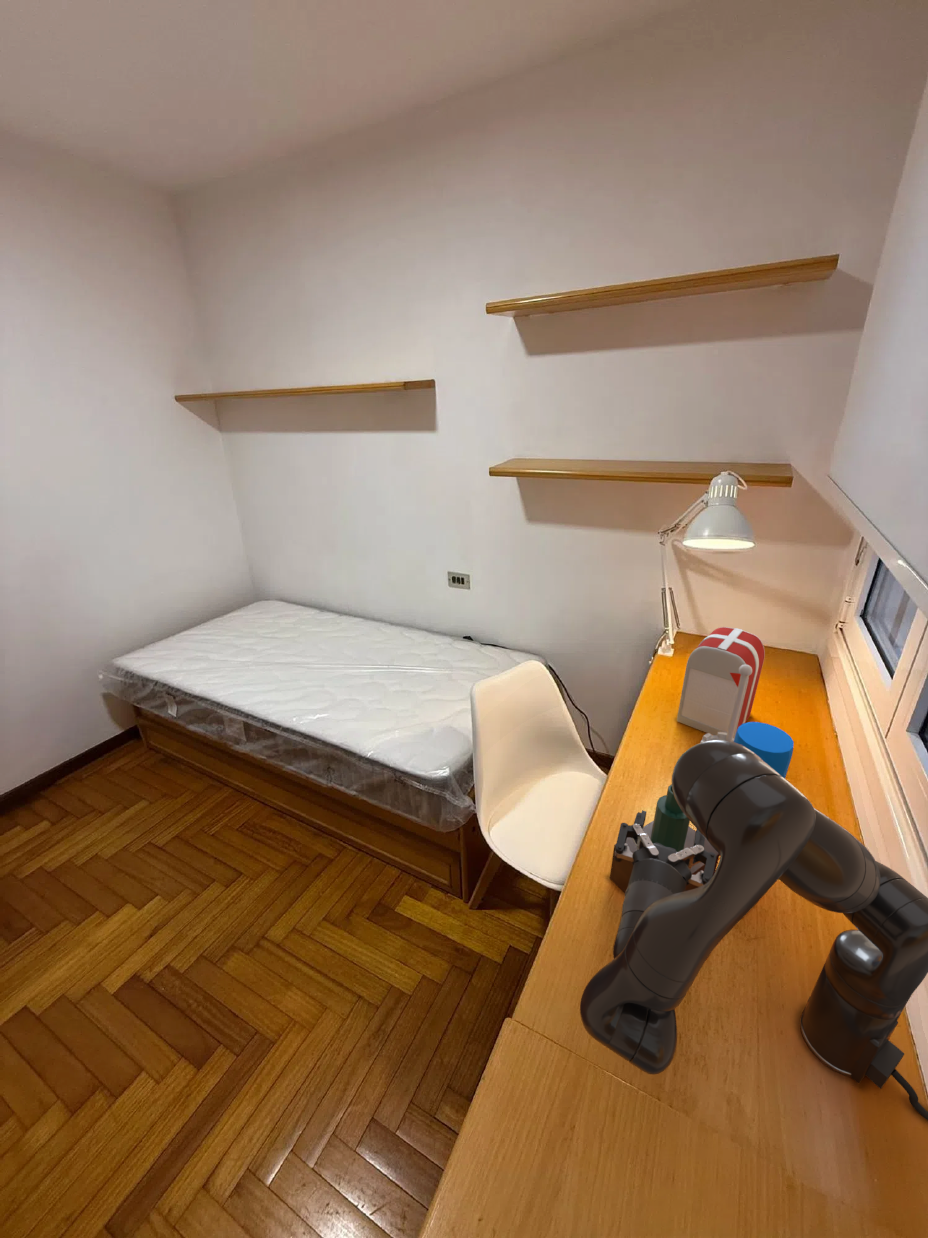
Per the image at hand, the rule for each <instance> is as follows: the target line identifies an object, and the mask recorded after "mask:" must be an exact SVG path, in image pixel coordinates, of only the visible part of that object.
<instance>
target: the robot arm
mask: <svg viewBox="0 0 928 1238" xmlns="http://www.w3.org/2000/svg"><path fill="white" fill-rule="evenodd" d="M671 784H672V790H673V794H674V797H675V799H676V802H677V804H678V805H679V807H680V809H681V810H682V812H683V813H684V814H685V816H686V817H687V818H688V819H689V820H690V823H691V824H692V826H694V828H695V829H696V830H695V831H696V834H695V840H694V846H693V847H692V848H690V849H689V848H685V849H683V850H681V851H679V852H677V851H676V849H674V848H671V847H665V846H663V845H661V844H659V843H656V842H655V843H652V842H651V840H650V838H649V837H648V835H647V834H645V833H644V831H643V827H644V826H645V823H646V817H647V811H646V810H644V809H643V810H641V812H639V811H638V812H637V813H636V815H635V818H634V821H633V824H631V825H629V824H628V823H626V822H621V823H620V825H619V831H618V835H617V839H616V842H615V844H616V848H615V856H614V859H615V860H616V861H617V862H621V861H622V859H625V860H628V861H631V862H632V864H633V869H632V872H631V876H630V880H629V883H628V887H627V889H626V892H625V893H624V898H623V902H622V907H621V916H620V922H619V924H618V928H617V930H616V931H617V932H616V935H615V939H614V943H613V947H612V957H613V959H611V961H609V962H608V963H606V965H604V966H603V967H602V968H600V969H599V970H598V971H597V972H596V973H595V974H593V976H592V977H591V978H590V979H589V981H588V982H587V984H586V985H585V987H584V990H583V992H582V994H581V997H580V1002H579V1015H580V1019H581V1023H582V1025H583V1028H584V1029H585V1031H586V1033H587V1034H588V1035H589V1036H590V1037H591V1038H592V1039H594V1040H595V1041H597V1042H598V1043H599V1044H601V1045H603V1046H604V1047H606V1048H607V1049H608V1050H610V1051H612V1052H613V1053H614V1054H616V1055H618V1056H619V1057H621V1058H622V1059H624V1060H626V1062H629V1063H630V1064H631V1065H633V1066H634V1067H635V1068H636V1069H639V1070H640V1071H642V1072H643V1073H646V1074H647V1075H653V1076H656V1075H660V1074H662V1073H664V1072H665V1071H666V1070H667V1069H668V1068H669V1067H670V1065H671V1064H672V1062H673V1060H674V1058H675V1054H676V1051H677V1044H678V1043H677V1042H678V1024H677V1016H676V1009H677V1007H679V1006H680V1004H681V1003H682V1002H683V1000H684V999H685V996H686V995H687V993H688V991H689V990H690V988H691V986H692V985H693V983H694V981H695V980H696V978H697V977H698V975H699V974H700V971H701V969H702V968H703V966H704V965H705V963H706V961H707V960H708V958H709V957H710V955H711V953H713V951H714V950H715V949H716V947H717V946H718V945H719V943H720V942H721V941H722V940H723V939H724V938H725V937H726V936H727V935H728V933H729V932H730V931H732V929H734V928H735V927H736V925H738V923H739V922H740V921H741V920H743V918H745V916H746V915H747V914H748V913H749V912H750V911H751V910H752V909H753V908H754V907H755V906H756V905H757V904H758V902H759V901H760V900H761V899H763V897H764V895H766V893H767V892H768V891H769V890H770V889H771V888H772V887H773V886H774V885H775V883H776V882H778V880H779V881H780V882H781V883H782V884H784V885H785V886H786V887H787V888H788V889H789V890H790V891H792V892H793V893H795V894H797V895H798V896H800V897H801V898H803V899H804V900H806V901H807V902H809V903H811V904H813V905H814V906H816V907H817V908H820V909H823V910H826V911H829V912H832V913H838V914H842V915H843V916H844V917H845V918H846V919H847V920H848V921H849V922H850V923H851V924H852V925H853V926H854V927H855V929H847V930H844V931H841V932H840V933H839V934H837V936H836V937H835V938H834V941H833V943H832V944H831V947H830V950H829V952H828V955H827V957H826V959H825V961H824V964H823V966H822V969H821V971H820V973H819V975H818V978H817V980H816V982H815V985H814V987H813V989H812V992H811V993H810V996H809V997H808V999H807V1003H806V1005H805V1007H804V1009H803V1011H802V1013H801V1015H800V1019H799V1027H800V1032H801V1035H802V1037H803V1040H804V1041H805V1043H806V1045H807V1047H808V1048H809V1049H810V1050H811V1052H812V1053H813V1054H814V1055H815V1057H817V1058H818V1060H820V1061H821V1063H823V1064H824V1065H825V1066H827V1067H828V1068H830V1069H831V1070H833V1071H835V1073H838V1074H841V1075H843V1076H846V1077H850V1078H851V1080H853V1081H854V1082H856V1083H857V1084H861V1082H862V1081H863V1080H864V1078H865V1077H867V1078H868V1079H869V1080H870V1081H871V1082H872V1083H873V1084H874V1085H876V1086H877V1088H879V1090H881V1089H883V1087H884V1086H885V1084H886V1082H887V1081H888V1080H889V1078H890V1077H891V1076H892V1078H893V1079H894V1080H896V1081H897V1083H898V1084H899V1085H900V1086H901V1087H902V1088H903V1089H904V1091H905V1092H906V1094H907V1095H908V1102H909V1103H910V1105H911V1107H912V1108H913V1109H914V1110H915V1111H916V1112H917V1113H918V1114H919V1115H920V1116H922V1117H923V1118H924V1120H926V1121H927V1122H928V1111H927V1110H926V1109H925V1107H923V1105H922V1104H921V1103H920V1102H919V1096H918V1094H917V1092H916V1091H915V1089H914V1087H913V1086H912V1085H911V1084H910V1082H908V1080H907V1079H905V1078H904V1076H903V1075H902V1074H901V1073H900V1072H899V1071H898V1069H896V1068H897V1067H898V1065H899V1064H900V1063H901V1061H902V1060H903V1059H902V1058H904V1056H905V1052H903V1050H901V1049H900V1048H899V1047H898V1046H896V1045H895V1044H894V1043H893V1042H892V1041H891V1040H890V1038H891V1036H892V1035H893V1033H894V1031H895V1029H896V1028H897V1026H898V1025H899V1021H898V1020H899V1018H900V1016H901V1015H902V1013H903V1011H904V1009H905V1007H906V1006H907V1004H908V1002H909V1001H910V999H911V997H912V996H913V994H914V992H915V991H916V990H917V989H918V987H919V986H921V984H922V982H923V981H924V980H925V978H926V977H927V975H928V897H927V896H926V895H925V894H924V893H922V892H921V891H920V890H919V889H917V887H915V886H914V885H912V883H911V882H909V881H908V880H906V878H904V877H903V876H901V874H900V873H898V872H897V871H895V870H893V869H892V868H890V867H888V866H887V865H885V864H883V863H881V862H879V861H877V860H876V859H875V857H874V856H873V854H872V853H871V852H870V850H869V849H868V847H866V845H864V844H863V843H862V841H860V840H859V839H858V838H857V837H856V836H854V835H853V834H852V833H851V832H850V831H848V830H847V829H846V828H844V827H843V826H842V825H840V824H839V823H838V822H836V821H835V820H833V819H832V818H830V817H829V816H827V815H826V814H824V813H823V812H821V810H818V809H817V808H815V807H814V806H813V803H812V802H811V801H810V800H809V798H808V797H806V795H805V794H804V793H803V792H802V791H800V789H798V788H797V787H796V786H794V785H793V784H792V783H791V782H790V781H789V780H787V778H786V777H785V778H783V777H782V776H781V775H780V774H779V773H777V772H776V771H775V770H774V769H773V768H771V767H770V766H769V765H768V764H767V763H765V762H764V761H763V760H762V759H761V758H760V757H759V756H758V755H756V754H755V753H754V752H752V751H751V750H749V749H748V748H746V747H744V746H743V745H740V744H738V743H735V742H732V741H726V740H711V741H705V742H702V743H700V742H699V743H696V744H695V745H693V746H690V747H689V748H688V749H687V750H686V751H684V752H683V753H682V754H681V755H680V756H679V758H678V759H677V761H676V763H675V765H674V767H673V770H672V774H671ZM627 837H630V838H632V839H633V841H634V843H635V845H636V847H637V850H636V851H635V852H634V853H632V852H631V851H630V849H629V846H628V844H626V839H627ZM705 839H706V840H707V841H708V842H709V843H710V844H711V846H712V847H713V848H714V849H715V850H716V851H717V852H718V853H719V854H720V856H719V860H718V863H717V867H716V870H715V873H714V875H713V872H714V867H715V862H716V857H717V856H716V854H715V853H713V852H707V851H706V850H705V849H704V842H705ZM699 862H702V863H703V864H705V869H704V871H702V870H701V871H700V872H698V873H697V874H696V875H692V873H691V871H690V869H691V868H692V866H693V865H695V864H697V863H699ZM689 883H690V884H693V885H695V886H698V888H695V889H692V890H688V891H685V890H686V886H687V885H688V884H689Z"/></svg>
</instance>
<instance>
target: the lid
mask: <svg viewBox="0 0 928 1238" xmlns="http://www.w3.org/2000/svg"><path fill="white" fill-rule="evenodd" d="M653 822H654V820H652V821H650V822H649V823H647V824H644V826H643V831H644V833H645V834H647V835H648V837H649V838H650V839H651V833H652V828H653ZM695 834H696V830H695V829H693V828H692V827H690V826H689V827H688V832H687V836H686V841H685V845H684V849H685V848H689V849H690V848H692V847H693V846H694V840H695ZM626 844H628V846H629V849H630V851H631V852H632V853H634V852H635V851H636V850H637V847H636V845H635V843H634V841H633V839H632V838H630V837H627V839H626ZM614 848H616V843H614V845H613V849H614ZM704 849H705V850H706V851H707V852H713V853H715V854H716V856H717V857H716V858H718V857H719V858H720V854H719V853H718V852H717V851H716V850H715V849H714V848H713V847H712V846H711V844H710V843H709V842H708V841H707V840H706V839H705V842H704ZM629 862H631V861H629ZM631 863H632V862H631ZM704 867H705V864H703V863H702V862H699V863H697V864H695V865H693V866H692V868H691V869H690V871H691V873H692V875H694V874H696V873H697V872H698V871H700V870H701V869H703V868H704Z"/></svg>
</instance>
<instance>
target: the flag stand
mask: <svg viewBox="0 0 928 1238" xmlns="http://www.w3.org/2000/svg"><path fill="white" fill-rule="evenodd" d="M739 673H740V674H739ZM739 673H730V674H731V676H732V678H733V680H734V682H735V683H736V685H737V687H738V689H737V694H736V698H735V702H734V707H733V711H732V715H731V719H730V724H729V728H728V732H727V733H725V732H717V735H712V734H710V733H705V734H703V735H702V738H701V740H700V742H699V743H702V742H705V741H711V740H726V741H732V742H734V738H733V736H734V731H735V727H736V723H737V719H738V715H739V711H740V707H741V702H742V698H743V694H744V690H745V686H746V682H747V677H748V676H750V675H751V674H752V668H751V667H750V666H749V665H742V666H740V668H739Z"/></svg>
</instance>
